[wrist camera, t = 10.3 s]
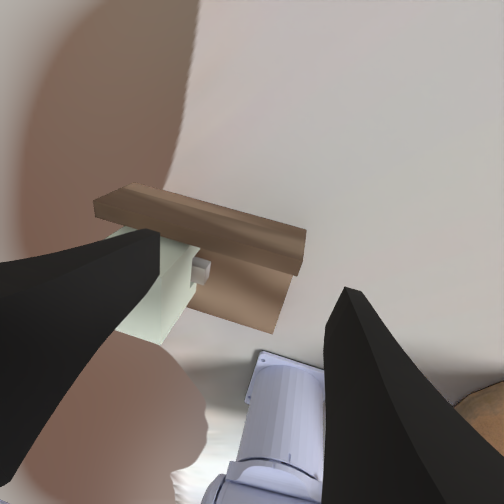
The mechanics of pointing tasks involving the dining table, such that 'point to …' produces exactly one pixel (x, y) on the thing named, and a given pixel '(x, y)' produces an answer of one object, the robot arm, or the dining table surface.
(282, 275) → the cleat board
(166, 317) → the sage block
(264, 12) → the dining table surface
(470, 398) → the pottery
